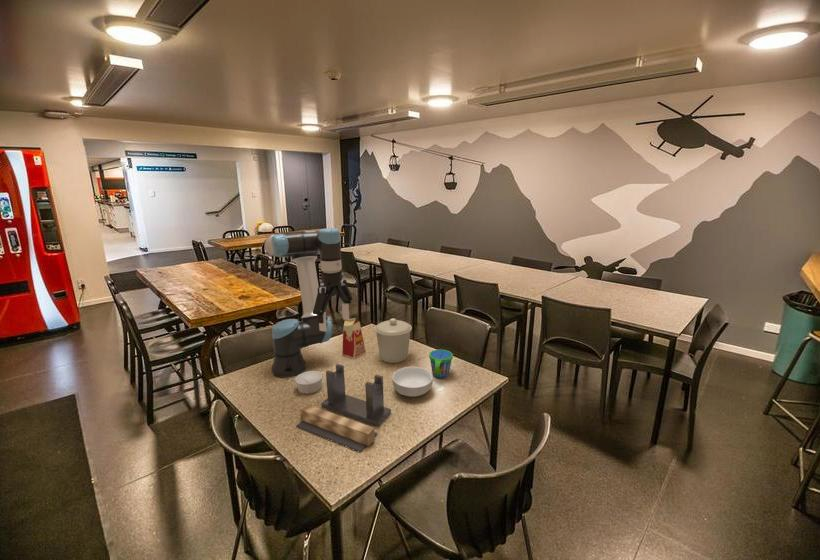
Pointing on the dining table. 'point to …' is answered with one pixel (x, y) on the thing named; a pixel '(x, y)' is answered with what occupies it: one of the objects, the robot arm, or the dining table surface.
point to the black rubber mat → (332, 436)
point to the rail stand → (356, 399)
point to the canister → (393, 340)
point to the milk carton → (353, 339)
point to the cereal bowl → (412, 381)
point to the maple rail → (338, 424)
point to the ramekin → (309, 381)
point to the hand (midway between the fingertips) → (335, 324)
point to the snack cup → (440, 362)
